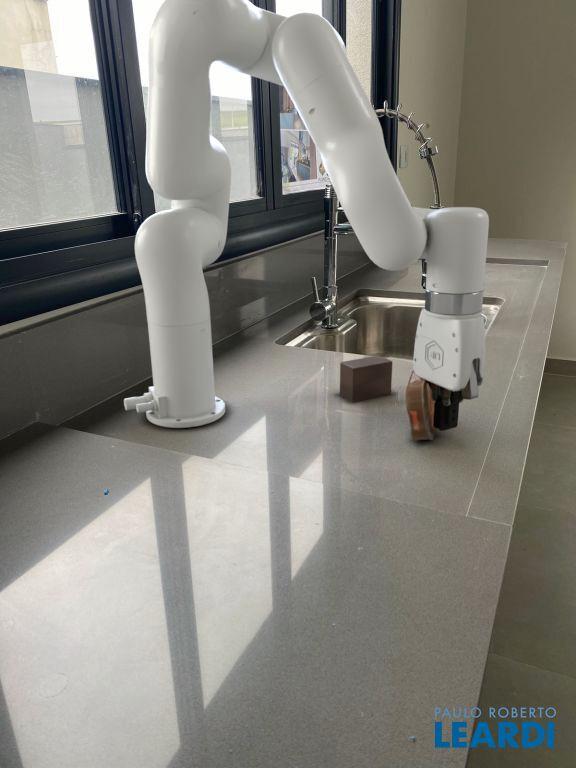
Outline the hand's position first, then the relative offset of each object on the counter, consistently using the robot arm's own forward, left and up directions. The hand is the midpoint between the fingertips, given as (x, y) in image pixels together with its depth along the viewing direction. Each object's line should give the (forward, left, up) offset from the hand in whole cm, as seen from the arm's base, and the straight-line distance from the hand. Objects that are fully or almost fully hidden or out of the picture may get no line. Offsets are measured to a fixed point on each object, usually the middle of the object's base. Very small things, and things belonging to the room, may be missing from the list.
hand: (445, 427), depth 88 cm
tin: (-1, +3, -2) cm, 4 cm away
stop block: (0, +20, -1) cm, 20 cm away
